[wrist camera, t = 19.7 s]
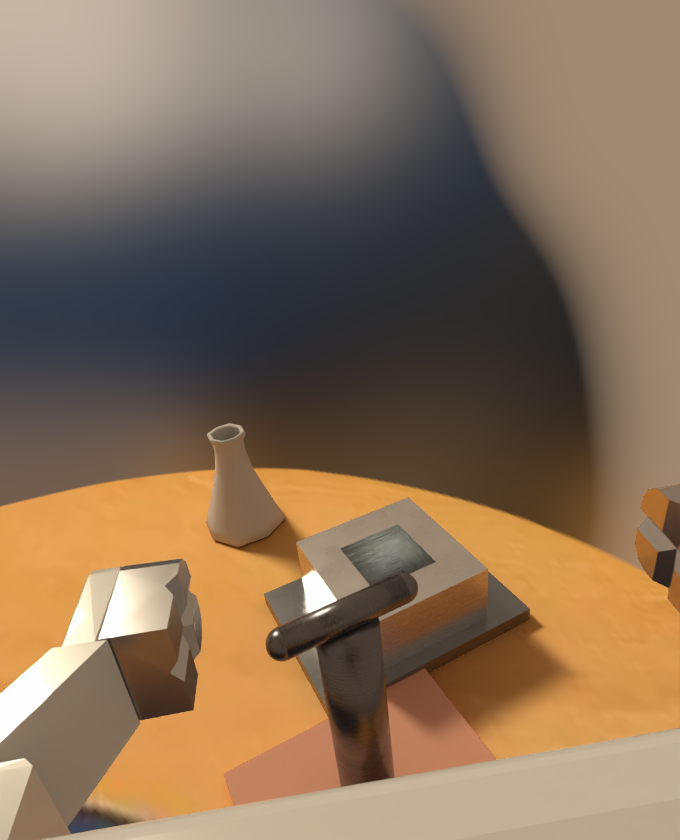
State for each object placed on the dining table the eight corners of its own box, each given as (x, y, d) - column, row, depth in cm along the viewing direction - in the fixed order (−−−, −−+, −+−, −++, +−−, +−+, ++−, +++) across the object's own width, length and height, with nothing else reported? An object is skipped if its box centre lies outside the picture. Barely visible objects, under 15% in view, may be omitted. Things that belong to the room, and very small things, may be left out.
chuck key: (319, 851, 30) (276, 665, 23) (297, 798, 33) (252, 615, 26) (439, 779, 33) (433, 591, 26) (410, 734, 35) (398, 552, 28)
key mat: (290, 973, 27) (287, 967, 26) (225, 779, 35) (223, 773, 34) (530, 810, 32) (530, 804, 31) (425, 674, 40) (424, 668, 39)
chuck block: (331, 723, 37) (321, 663, 35) (266, 603, 47) (254, 549, 44) (529, 618, 43) (532, 560, 40) (433, 530, 53) (432, 479, 50)
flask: (298, 519, 56) (283, 428, 51) (235, 559, 52) (212, 463, 47) (254, 491, 61) (236, 405, 56) (194, 526, 57) (169, 436, 52)
